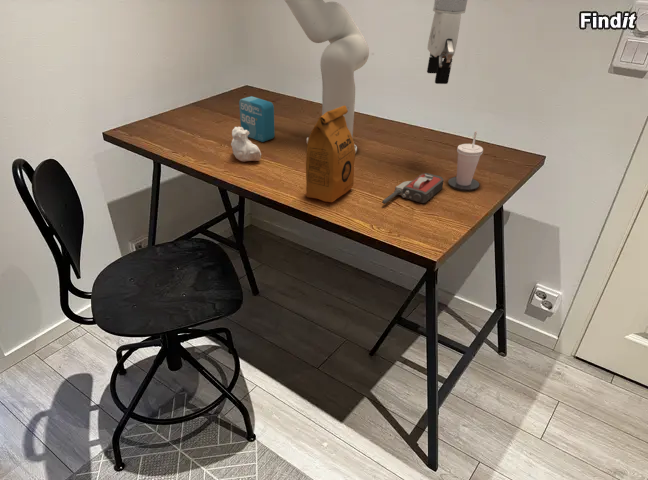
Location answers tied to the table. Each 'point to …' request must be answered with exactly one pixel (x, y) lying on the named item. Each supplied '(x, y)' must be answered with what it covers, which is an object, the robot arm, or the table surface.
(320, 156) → the coffee package
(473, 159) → the smoothie
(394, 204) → the table surface
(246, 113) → the data package
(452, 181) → the coaster
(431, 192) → the walkie-talkie
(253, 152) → the white animal figurine
